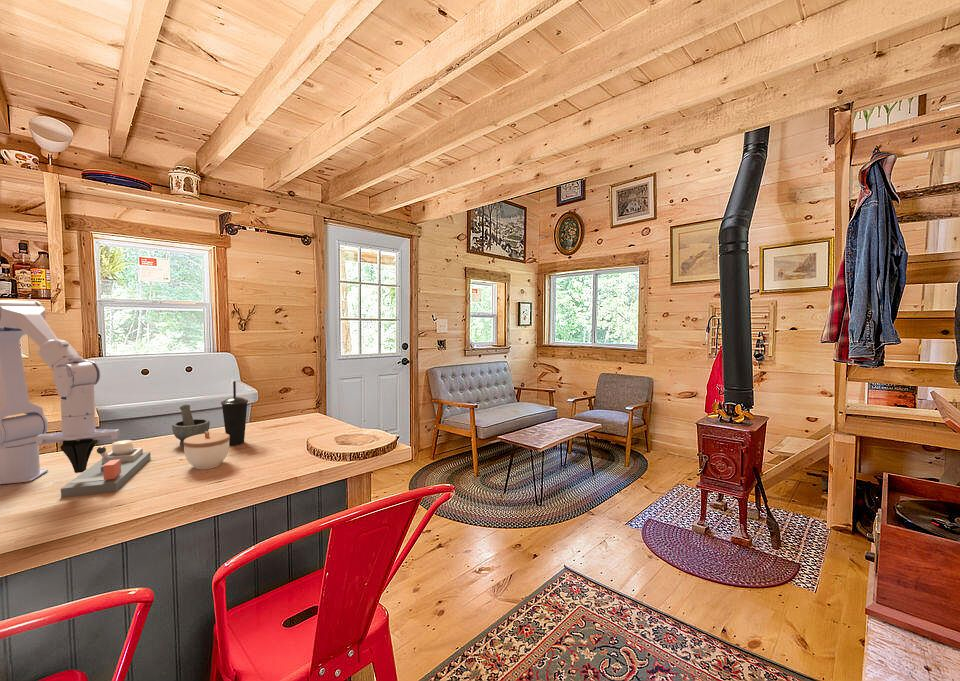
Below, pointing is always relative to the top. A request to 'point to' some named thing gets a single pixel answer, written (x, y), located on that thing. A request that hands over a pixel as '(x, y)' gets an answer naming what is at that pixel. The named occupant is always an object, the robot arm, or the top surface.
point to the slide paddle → (112, 469)
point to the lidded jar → (206, 449)
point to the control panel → (94, 476)
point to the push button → (122, 447)
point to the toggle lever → (103, 453)
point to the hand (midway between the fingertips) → (80, 471)
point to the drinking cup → (235, 417)
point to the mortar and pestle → (189, 425)
